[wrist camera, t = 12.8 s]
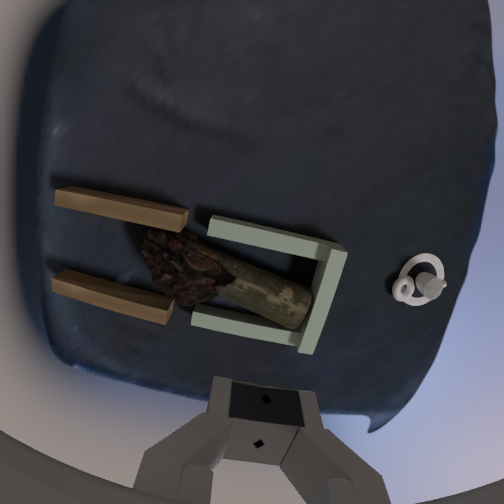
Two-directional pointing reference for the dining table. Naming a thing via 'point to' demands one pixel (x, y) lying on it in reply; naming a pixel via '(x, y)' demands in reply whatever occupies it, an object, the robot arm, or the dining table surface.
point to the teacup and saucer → (419, 281)
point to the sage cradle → (321, 287)
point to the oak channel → (107, 291)
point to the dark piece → (220, 278)
